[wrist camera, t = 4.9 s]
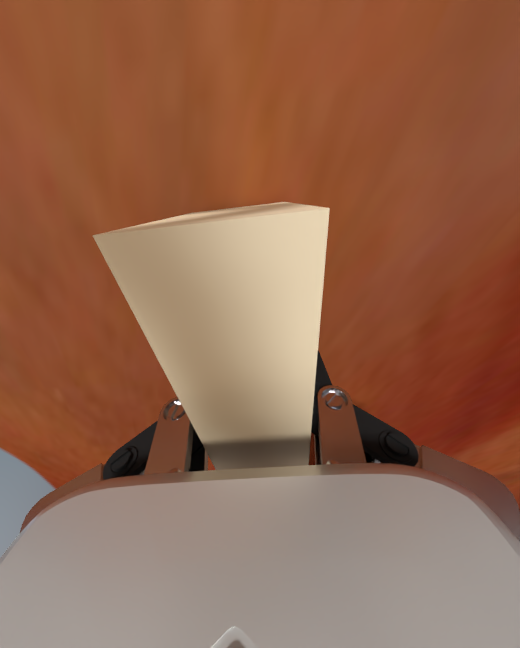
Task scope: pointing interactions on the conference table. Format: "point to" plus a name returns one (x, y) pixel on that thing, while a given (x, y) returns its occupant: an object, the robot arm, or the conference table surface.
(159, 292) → the rail
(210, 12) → the conference table surface
